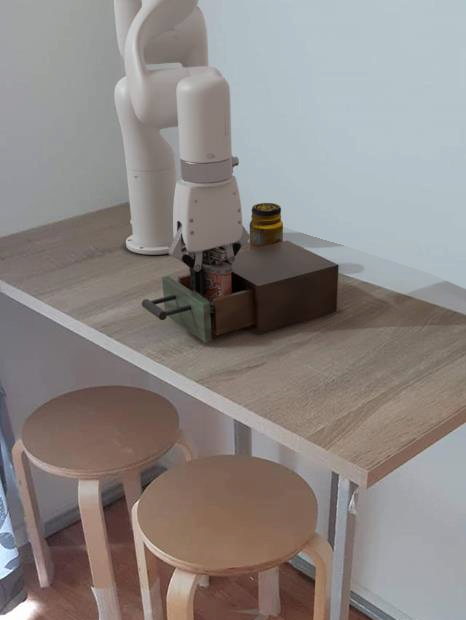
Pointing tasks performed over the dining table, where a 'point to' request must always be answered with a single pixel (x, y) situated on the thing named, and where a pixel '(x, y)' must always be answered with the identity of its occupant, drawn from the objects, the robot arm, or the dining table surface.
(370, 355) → the dining table surface
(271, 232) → the condiment
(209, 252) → the lighter
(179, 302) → the drawer
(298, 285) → the cabinet
